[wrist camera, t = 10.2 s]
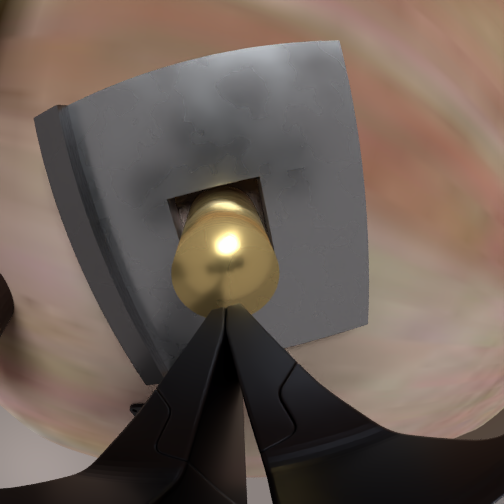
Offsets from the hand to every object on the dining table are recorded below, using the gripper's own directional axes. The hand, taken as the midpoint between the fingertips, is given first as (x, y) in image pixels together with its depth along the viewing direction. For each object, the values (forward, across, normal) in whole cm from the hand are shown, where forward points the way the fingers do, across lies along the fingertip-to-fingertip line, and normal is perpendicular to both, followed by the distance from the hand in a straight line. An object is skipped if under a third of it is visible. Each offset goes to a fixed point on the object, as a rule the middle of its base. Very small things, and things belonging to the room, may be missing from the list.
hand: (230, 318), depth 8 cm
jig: (+10, 0, 0) cm, 10 cm away
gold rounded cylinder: (+10, 0, 0) cm, 10 cm away
